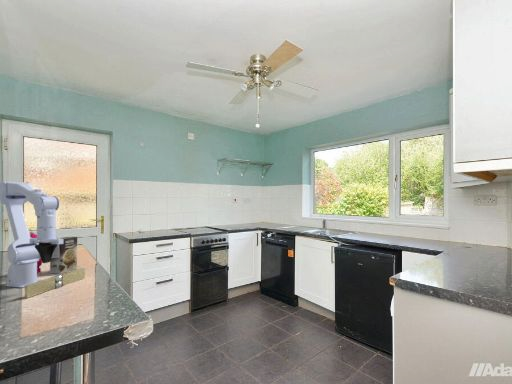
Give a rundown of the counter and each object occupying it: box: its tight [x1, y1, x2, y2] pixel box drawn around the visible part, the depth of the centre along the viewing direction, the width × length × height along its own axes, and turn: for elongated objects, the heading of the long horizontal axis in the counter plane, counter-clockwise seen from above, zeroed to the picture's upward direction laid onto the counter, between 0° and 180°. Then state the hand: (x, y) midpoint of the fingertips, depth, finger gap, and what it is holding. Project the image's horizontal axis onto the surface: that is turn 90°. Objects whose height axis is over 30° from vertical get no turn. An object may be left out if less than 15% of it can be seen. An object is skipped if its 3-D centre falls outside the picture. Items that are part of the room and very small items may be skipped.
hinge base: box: [54, 267, 86, 289], centre depth 108 cm, size 3×13×4 cm, turn 165°
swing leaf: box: [24, 274, 62, 299], centre depth 98 cm, size 3×13×4 cm, turn 168°
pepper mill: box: [29, 230, 43, 274], centre depth 124 cm, size 7×7×20 cm
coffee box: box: [49, 236, 78, 275], centre depth 126 cm, size 9×6×16 cm
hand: (46, 262), depth 101 cm, fingers closed
